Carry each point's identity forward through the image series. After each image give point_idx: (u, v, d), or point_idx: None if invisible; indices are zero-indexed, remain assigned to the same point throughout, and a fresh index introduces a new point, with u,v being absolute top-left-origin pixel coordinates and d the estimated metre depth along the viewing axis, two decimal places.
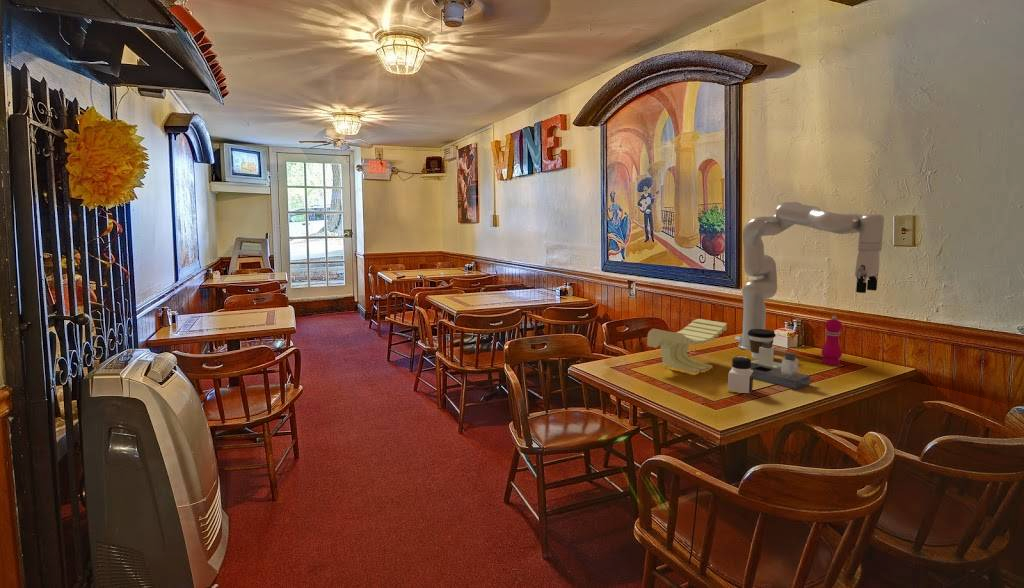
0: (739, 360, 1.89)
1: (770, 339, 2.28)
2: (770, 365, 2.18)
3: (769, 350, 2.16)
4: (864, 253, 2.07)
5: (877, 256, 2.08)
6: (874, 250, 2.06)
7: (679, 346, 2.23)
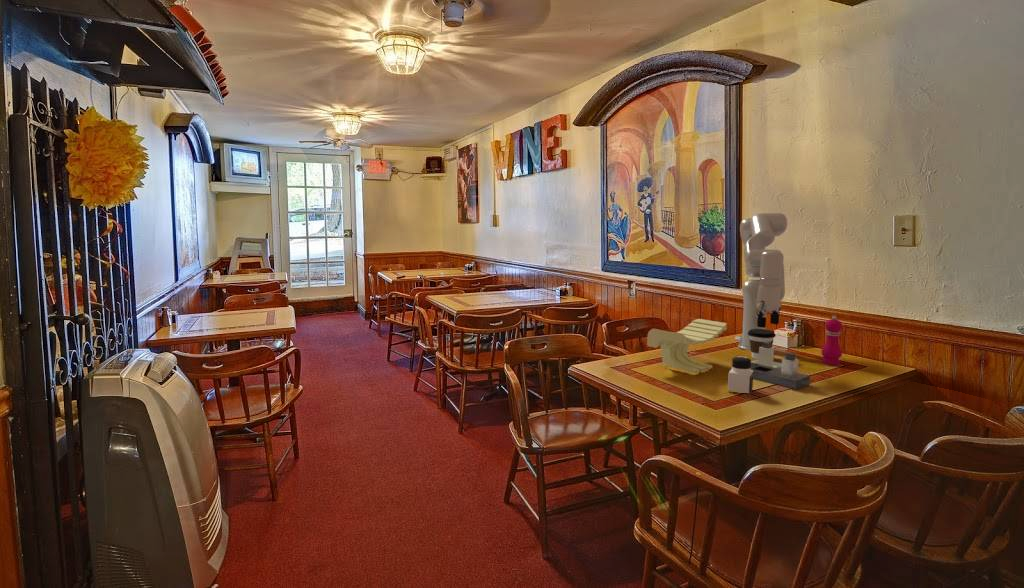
0: (739, 360, 1.89)
1: (770, 339, 2.28)
2: (770, 365, 2.18)
3: (769, 350, 2.16)
4: (764, 289, 2.12)
5: (777, 291, 2.14)
6: (773, 286, 2.11)
7: (679, 346, 2.23)
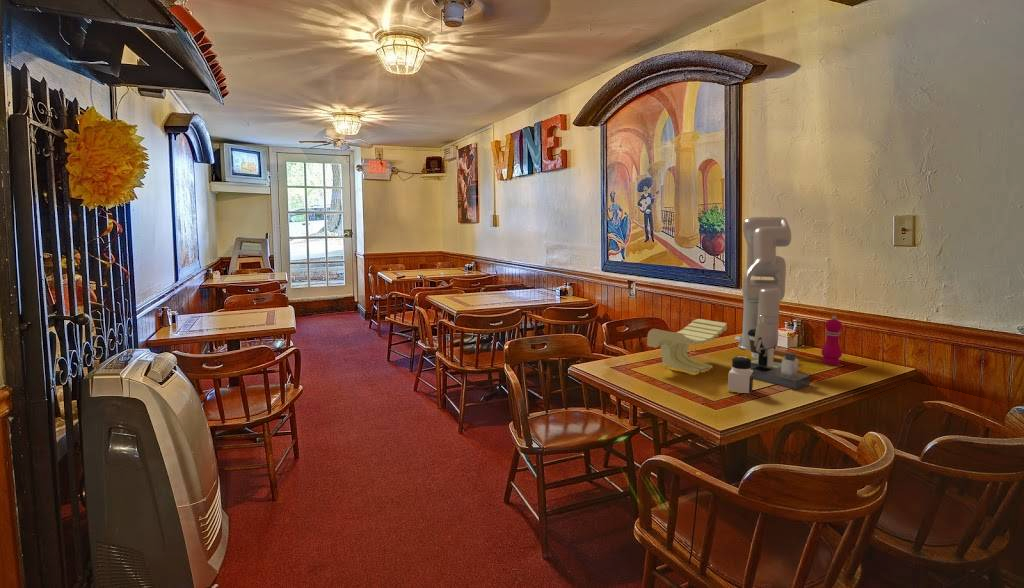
0: (739, 360, 1.89)
1: None
2: (770, 365, 2.18)
3: (769, 350, 2.16)
4: (762, 326, 2.14)
5: (775, 328, 2.16)
6: (770, 323, 2.13)
7: (679, 346, 2.23)
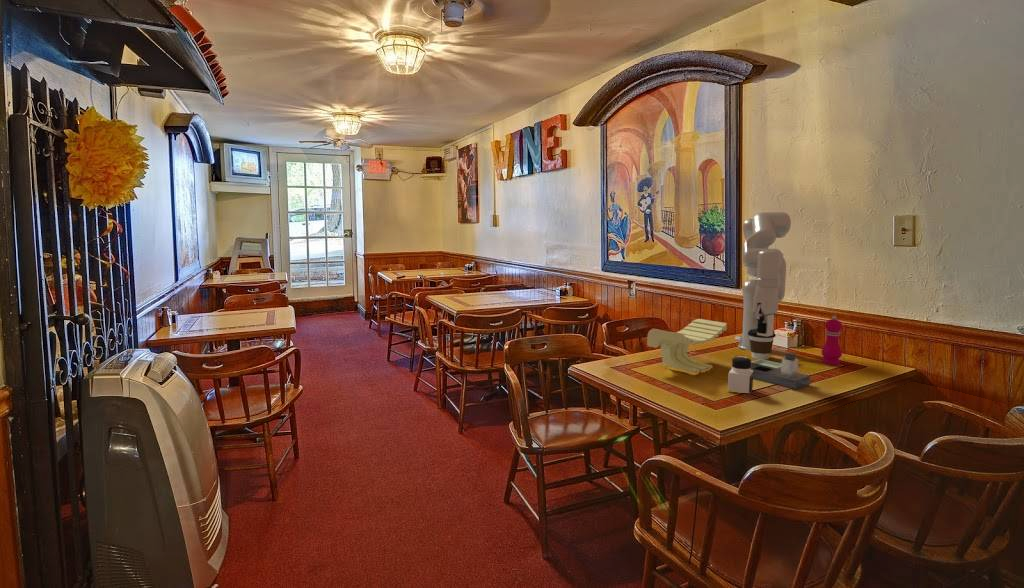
0: (739, 360, 1.89)
1: (770, 339, 2.28)
2: (770, 333, 2.03)
3: (769, 316, 2.02)
4: (761, 291, 2.00)
5: (775, 293, 2.02)
6: (770, 287, 1.99)
7: (679, 346, 2.23)
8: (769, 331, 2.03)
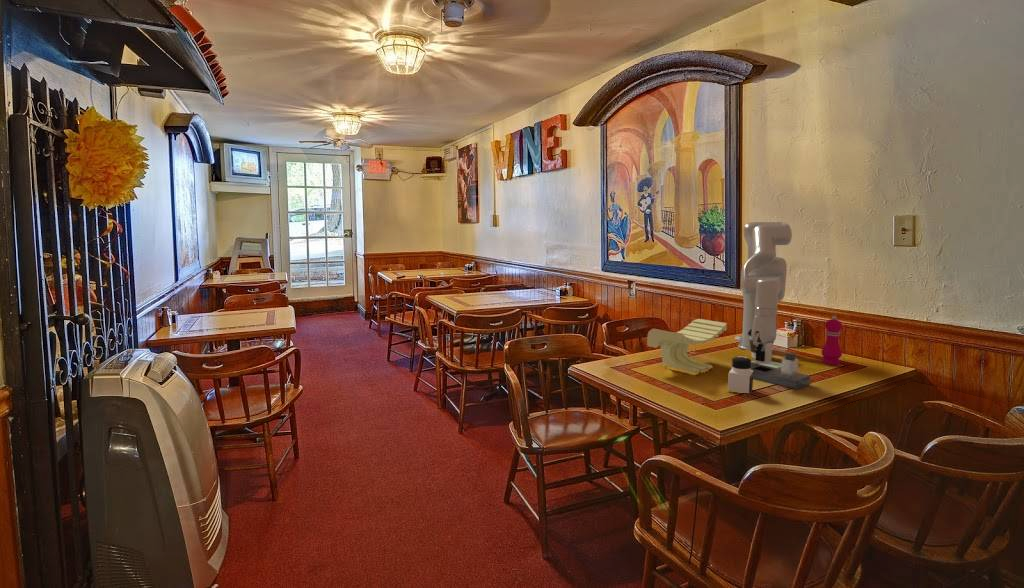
0: (739, 360, 1.89)
1: None
2: (768, 361, 2.05)
3: (767, 344, 2.03)
4: (759, 319, 2.01)
5: (773, 321, 2.03)
6: (768, 316, 2.00)
7: (679, 346, 2.23)
8: (767, 359, 2.04)
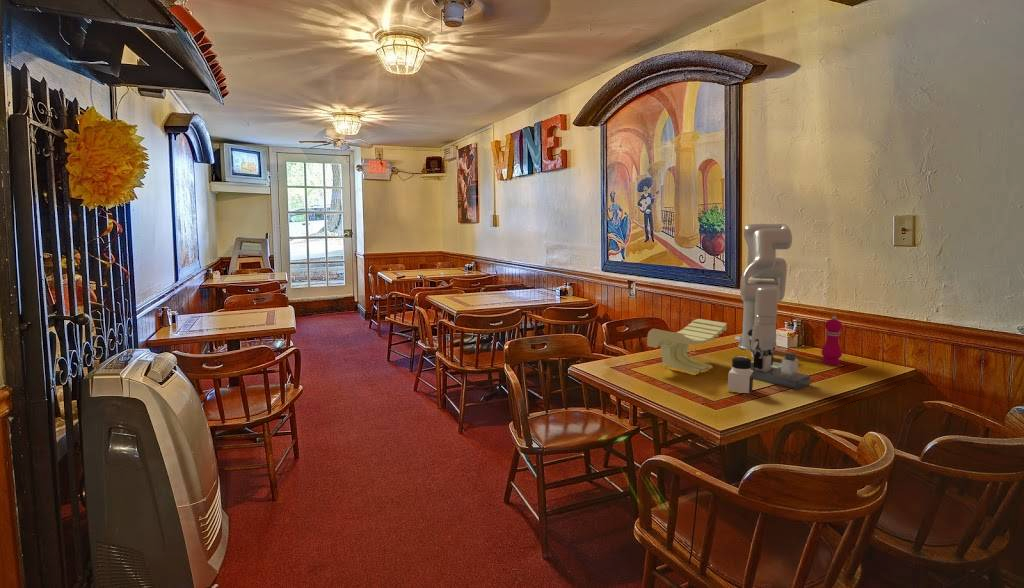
0: (739, 360, 1.89)
1: None
2: None
3: (766, 358, 2.04)
4: (759, 327, 2.02)
5: (772, 329, 2.03)
6: (768, 324, 2.01)
7: (679, 346, 2.23)
8: None
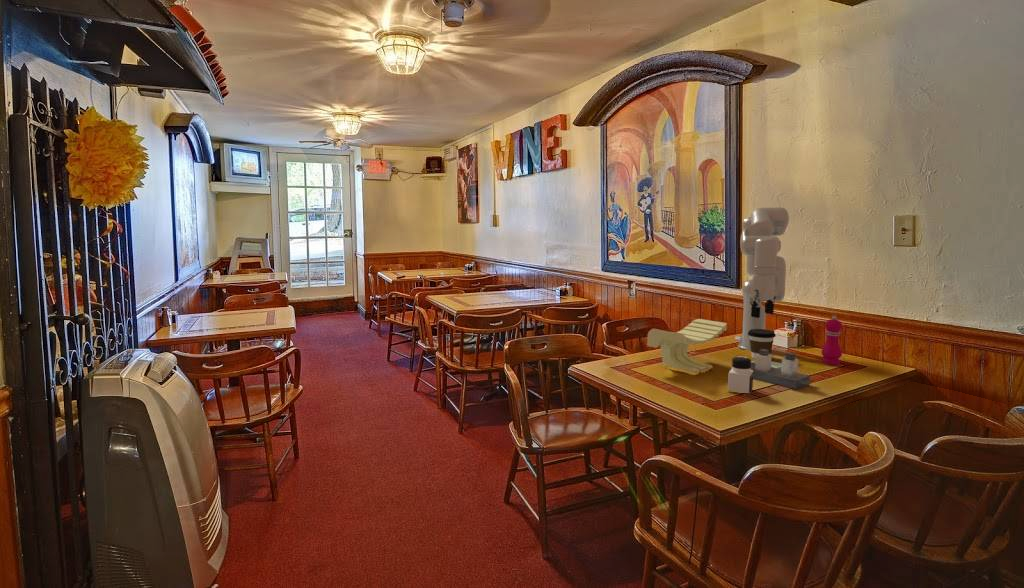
0: (739, 360, 1.89)
1: (770, 339, 2.28)
2: None
3: (766, 358, 2.04)
4: (758, 278, 2.04)
5: (772, 280, 2.05)
6: (767, 275, 2.03)
7: (679, 346, 2.23)
8: None
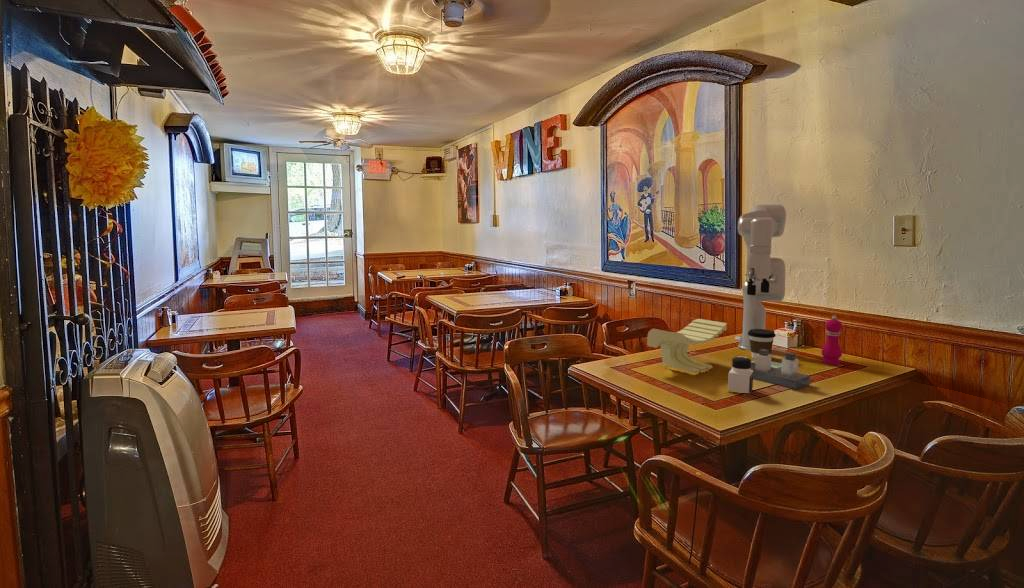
0: (739, 360, 1.89)
1: (770, 339, 2.28)
2: None
3: (766, 358, 2.04)
4: (754, 257, 2.11)
5: (767, 259, 2.12)
6: (763, 253, 2.10)
7: (679, 346, 2.23)
8: None
